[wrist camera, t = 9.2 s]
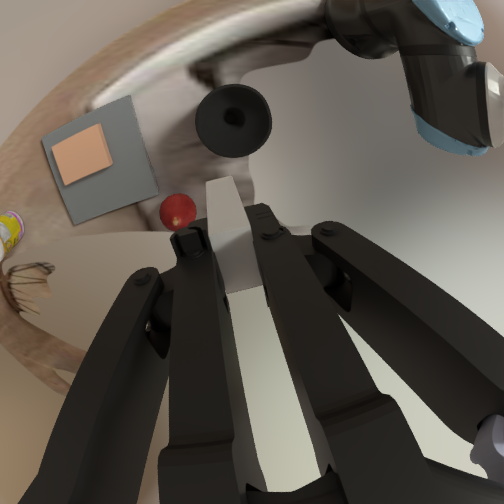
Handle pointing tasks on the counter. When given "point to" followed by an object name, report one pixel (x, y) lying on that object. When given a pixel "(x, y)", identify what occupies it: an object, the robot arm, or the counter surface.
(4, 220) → the supplement bottle
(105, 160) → the tile
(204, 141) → the pen holder
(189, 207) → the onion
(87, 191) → the slate board
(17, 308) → the counter surface
